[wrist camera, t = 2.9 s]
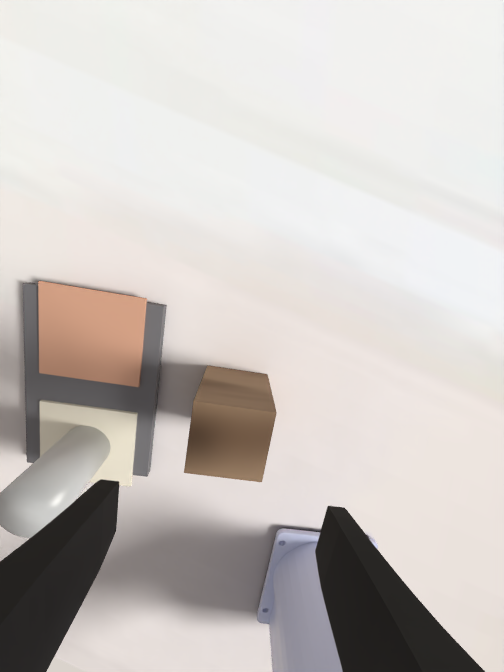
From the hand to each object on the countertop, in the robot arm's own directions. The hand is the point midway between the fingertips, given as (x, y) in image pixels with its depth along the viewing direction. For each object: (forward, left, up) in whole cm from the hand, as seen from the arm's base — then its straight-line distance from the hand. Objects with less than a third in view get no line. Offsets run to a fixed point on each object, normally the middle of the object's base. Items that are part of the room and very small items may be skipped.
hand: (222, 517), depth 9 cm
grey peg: (-5, +9, -8) cm, 13 cm away
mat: (-1, +9, -9) cm, 13 cm away
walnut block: (0, 0, -9) cm, 9 cm away
